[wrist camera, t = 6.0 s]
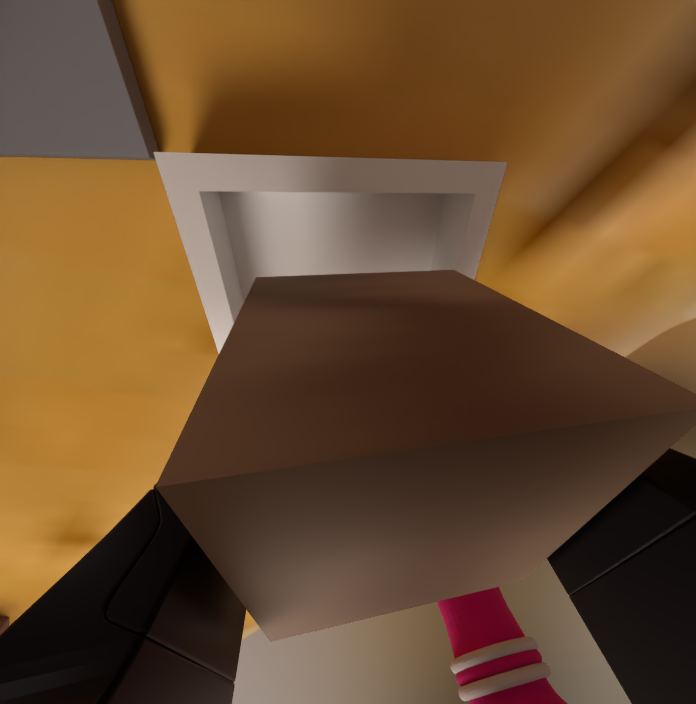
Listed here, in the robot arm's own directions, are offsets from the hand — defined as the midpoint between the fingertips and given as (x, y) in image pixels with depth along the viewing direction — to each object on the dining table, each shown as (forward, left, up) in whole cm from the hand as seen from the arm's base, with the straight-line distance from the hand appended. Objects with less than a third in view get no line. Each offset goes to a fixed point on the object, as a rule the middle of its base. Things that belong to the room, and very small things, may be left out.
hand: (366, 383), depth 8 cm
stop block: (0, 0, -2) cm, 2 cm away
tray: (0, 0, -8) cm, 8 cm away
